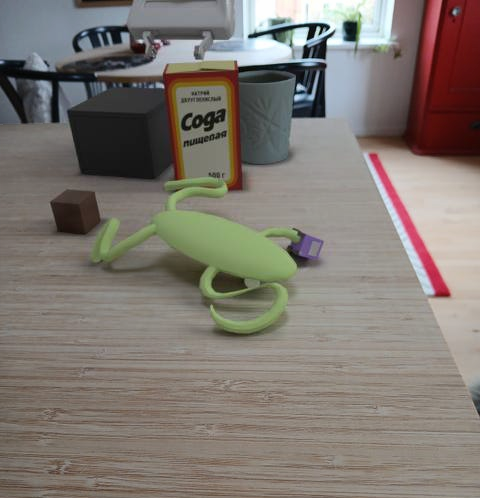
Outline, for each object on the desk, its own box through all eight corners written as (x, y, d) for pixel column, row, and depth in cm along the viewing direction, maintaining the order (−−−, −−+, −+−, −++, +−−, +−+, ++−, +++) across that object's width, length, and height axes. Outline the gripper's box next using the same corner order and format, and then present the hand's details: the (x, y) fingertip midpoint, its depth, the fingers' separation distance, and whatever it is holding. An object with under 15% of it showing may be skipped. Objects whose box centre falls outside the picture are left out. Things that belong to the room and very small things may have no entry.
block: (57, 231, 65) (49, 201, 62) (73, 217, 68) (66, 189, 65) (85, 234, 64) (78, 204, 61) (101, 220, 67) (94, 191, 64)
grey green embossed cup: (227, 165, 81) (223, 83, 74) (237, 144, 89) (234, 69, 82) (291, 166, 80) (293, 83, 73) (295, 145, 88) (297, 68, 81)
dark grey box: (121, 144, 92) (111, 86, 86) (187, 148, 89) (182, 88, 83) (80, 173, 81) (66, 110, 75) (154, 179, 78) (145, 113, 72)
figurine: (193, 203, 70) (189, 163, 67) (362, 266, 55) (367, 218, 52) (76, 255, 60) (65, 210, 56) (246, 350, 45) (244, 297, 41)
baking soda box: (176, 192, 73) (162, 70, 64) (179, 175, 79) (166, 60, 69) (242, 189, 73) (238, 66, 64) (240, 172, 79) (236, 57, 69)
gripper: (129, -23, 95) (114, 45, 93) (235, -26, 90) (222, 46, 88) (142, 2, 101) (129, 67, 99) (242, 1, 96) (230, 69, 94)
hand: (173, 57), depth 94 cm, fingers open, 8 cm apart
